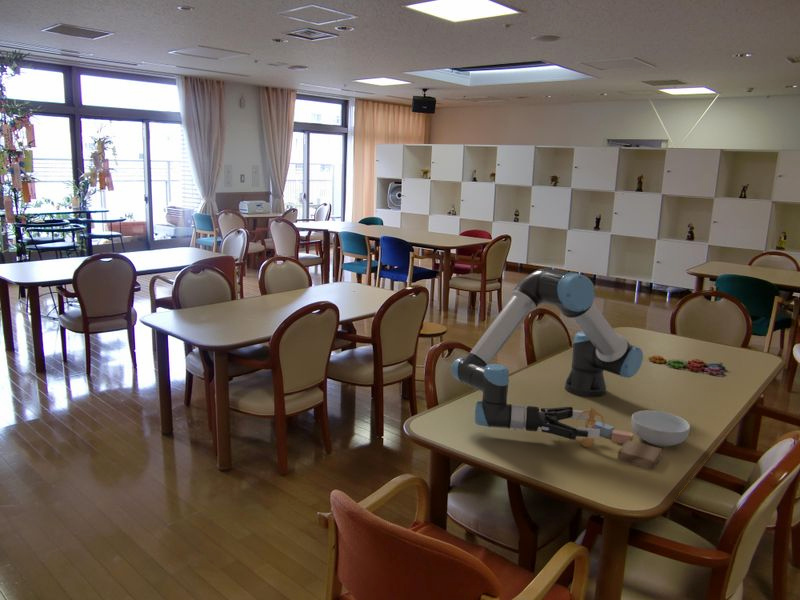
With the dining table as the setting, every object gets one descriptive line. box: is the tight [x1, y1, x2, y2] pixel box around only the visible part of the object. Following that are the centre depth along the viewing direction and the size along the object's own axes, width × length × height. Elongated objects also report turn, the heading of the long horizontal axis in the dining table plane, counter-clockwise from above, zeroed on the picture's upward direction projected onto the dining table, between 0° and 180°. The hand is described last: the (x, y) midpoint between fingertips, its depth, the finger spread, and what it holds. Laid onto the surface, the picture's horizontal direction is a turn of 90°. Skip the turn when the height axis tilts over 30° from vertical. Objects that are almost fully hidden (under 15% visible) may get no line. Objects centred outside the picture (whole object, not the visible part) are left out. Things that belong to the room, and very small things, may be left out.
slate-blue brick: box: [593, 420, 615, 439], centre depth 201 cm, size 6×3×3 cm, turn 40°
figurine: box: [576, 407, 605, 448], centre depth 191 cm, size 8×6×12 cm
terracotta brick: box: [611, 428, 634, 445], centre depth 196 cm, size 6×3×3 cm, turn 68°
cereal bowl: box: [630, 409, 691, 447], centre depth 196 cm, size 17×17×7 cm
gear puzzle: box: [648, 354, 726, 378], centre depth 277 cm, size 31×16×4 cm, turn 58°
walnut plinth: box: [617, 440, 663, 470], centre depth 185 cm, size 10×10×3 cm
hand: (596, 425), depth 190 cm, fingers open, 13 cm apart
